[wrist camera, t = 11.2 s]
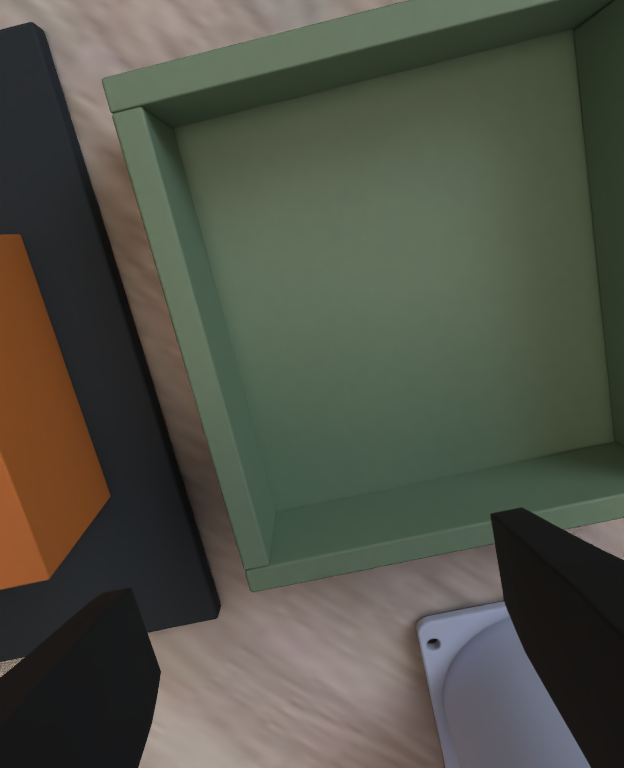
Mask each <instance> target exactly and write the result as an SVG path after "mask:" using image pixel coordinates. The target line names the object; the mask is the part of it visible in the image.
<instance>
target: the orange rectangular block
mask: <svg viewBox="0 0 624 768" xmlns="http://www.w3.org/2000/svg"><path fill="white" fill-rule="evenodd" d="M109 498H110V493H109V490H108V487H107V484H106V481H105V478H104V475H103V472H102V469H101V466H100V464H99V461H98V458H97V455H96V452H95V449H94V446H93V443H92V440H91V437H90V434H89V432H88V429H87V426H86V423H85V420H84V417H83V414H82V411H81V408H80V405H79V403H78V400H77V397H76V394H75V391H74V388H73V385H72V382H71V379H70V376H69V374H68V371H67V368H66V365H65V362H64V359H63V356H62V353H61V350H60V347H59V345H58V342H57V339H56V336H55V333H54V330H53V327H52V324H51V321H50V318H49V316H48V313H47V310H46V307H45V304H44V301H43V298H42V295H41V292H40V289H39V287H38V284H37V281H36V278H35V275H34V272H33V269H32V266H31V263H30V260H29V258H28V255H27V252H26V249H25V246H24V243H23V240H22V237H21V235H20V234H5V235H0V590H2V589H6V588H11V587H16V586H21V585H26V584H31V583H35V582H40V581H45V580H48V579H50V578H51V576H52V575H53V574H54V572H55V571H56V570H57V568H58V567H59V566H60V564H61V563H62V562H63V560H64V559H65V557H66V556H67V555H68V553H69V552H70V551H71V549H72V548H73V547H74V545H75V544H76V543H77V541H78V540H79V539H80V537H81V536H82V534H83V533H84V532H85V530H86V529H87V528H88V526H89V525H90V524H91V522H92V521H93V520H94V518H95V517H96V516H97V514H98V513H99V512H100V510H101V509H102V507H103V506H104V505H105V503H106V502H107V501H108V499H109Z"/></svg>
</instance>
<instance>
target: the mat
mask: <svg viewBox="0 0 624 768" xmlns="http://www.w3.org/2000/svg"><path fill="white" fill-rule="evenodd" d="M5 234H20V235H21V237H22V240H23V243H24V246H25V249H26V252H27V255H28V258H29V260H30V263H31V266H32V269H33V272H34V275H35V278H36V281H37V284H38V287H39V289H40V292H41V295H42V298H43V301H44V304H45V307H46V310H47V313H48V316H49V318H50V321H51V324H52V327H53V330H54V333H55V336H56V339H57V342H58V345H59V347H60V350H61V353H62V356H63V359H64V362H65V365H66V368H67V371H68V374H69V376H70V379H71V382H72V385H73V388H74V391H75V394H76V397H77V400H78V403H79V405H80V408H81V411H82V414H83V417H84V420H85V423H86V426H87V429H88V432H89V434H90V437H91V440H92V443H93V446H94V449H95V452H96V455H97V458H98V461H99V464H100V466H101V469H102V472H103V475H104V478H105V481H106V484H107V487H108V490H109V493H110V498H109V499H108V501H107V502H106V503H105V505H104V506H103V507H102V509H101V510H100V512H99V513H98V514H97V516H96V517H95V518H94V520H93V521H92V522H91V524H90V525H89V526H88V528H87V529H86V530H85V532H84V533H83V534H82V536H81V537H80V539H79V540H78V541H77V543H76V544H75V545H74V547H73V548H72V549H71V551H70V552H69V553H68V555H67V556H66V557H65V559H64V560H63V562H62V563H61V564H60V566H59V567H58V568H57V570H56V571H55V572H54V574H53V575H52V576H51V578H50V579H48V580H45V581H40V582H35V583H31V584H26V585H21V586H16V587H11V588H6V589H2V590H0V662H2V661H7V660H12V659H17V658H22V657H26V656H27V655H28V654H29V653H31V652H32V651H33V650H34V649H35V648H36V647H37V646H39V645H40V644H41V643H42V642H43V641H44V640H46V639H47V638H48V637H49V636H50V635H51V634H52V633H54V632H55V631H56V630H57V629H58V628H59V627H61V626H62V625H63V624H64V623H65V622H66V621H67V620H69V619H70V618H71V617H72V616H73V615H74V614H76V613H77V612H78V611H79V610H80V609H82V608H83V607H84V606H85V605H87V604H88V603H89V602H90V601H92V600H93V599H94V598H96V597H97V596H99V595H100V594H102V593H105V592H110V591H115V590H120V589H124V588H129V587H131V588H132V590H133V593H134V596H135V599H136V602H137V605H138V608H139V610H140V613H141V616H142V619H143V622H144V625H145V628H146V630H147V632H152V631H157V630H162V629H167V628H172V627H177V626H182V625H187V624H192V623H197V622H202V621H207V620H212V619H216V618H218V615H219V611H220V607H221V605H220V601H219V598H218V595H217V592H216V588H215V585H214V582H213V579H212V575H211V572H210V569H209V566H208V562H207V559H206V556H205V553H204V549H203V546H202V543H201V540H200V536H199V533H198V530H197V527H196V523H195V520H194V517H193V514H192V510H191V507H190V504H189V501H188V497H187V494H186V491H185V488H184V484H183V481H182V478H181V475H180V471H179V468H178V465H177V462H176V458H175V455H174V452H173V449H172V445H171V442H170V439H169V436H168V433H167V429H166V426H165V423H164V420H163V416H162V413H161V410H160V407H159V403H158V400H157V397H156V394H155V390H154V387H153V384H152V381H151V377H150V374H149V371H148V368H147V364H146V361H145V358H144V355H143V351H142V348H141V345H140V342H139V338H138V335H137V332H136V329H135V325H134V322H133V319H132V316H131V312H130V309H129V306H128V303H127V299H126V296H125V293H124V290H123V286H122V283H121V280H120V277H119V273H118V270H117V267H116V264H115V260H114V257H113V254H112V251H111V248H110V244H109V241H108V238H107V235H106V231H105V228H104V225H103V222H102V218H101V215H100V212H99V209H98V205H97V202H96V199H95V196H94V192H93V189H92V186H91V183H90V179H89V176H88V173H87V170H86V166H85V163H84V160H83V157H82V153H81V150H80V147H79V144H78V140H77V137H76V134H75V131H74V127H73V124H72V121H71V118H70V114H69V111H68V108H67V105H66V101H65V98H64V95H63V92H62V88H61V85H60V82H59V79H58V75H57V72H56V69H55V66H54V62H53V59H52V56H51V53H50V50H49V46H48V43H47V40H46V37H45V33H44V31H43V30H42V29H41V28H40V27H38V26H37V25H36V24H34V23H33V22H29V23H25V24H21V25H17V26H13V27H9V28H6V29H2V30H0V235H5Z"/></svg>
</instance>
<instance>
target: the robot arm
mask: <svg viewBox="0 0 624 768" xmlns="http://www.w3.org/2000/svg"><path fill="white" fill-rule="evenodd" d="M490 517H491V523H492V529H493V535H494V541H495V547H496V553H497V559H498V565H499V571H500V577H501V583H502V590H503V596H504V601H502V602H497V603H492V604H487V605H482V606H477V607H472V608H466V609H461V610H456V611H451V612H446V613H441V614H436V615H431V616H426V617H424V618H422V619H421V620H419V621H418V623H417V625H416V631H417V635H418V640H419V645H420V650H421V654H422V659H423V664H424V668H425V673H426V678H427V683H428V687H429V692H430V697H431V701H432V706H433V711H434V716H435V720H436V725H437V730H438V734H439V739H440V744H441V749H442V753H443V758H444V763H445V767H446V768H624V560H622V559H620V558H618V557H616V556H614V555H612V554H609V553H607V552H605V551H603V550H601V549H599V548H597V547H595V546H593V545H591V544H589V543H587V542H585V541H584V540H582V539H580V538H578V537H576V536H574V535H572V534H570V533H568V532H567V531H565V530H563V529H561V528H559V527H558V526H556V525H554V524H552V523H550V522H548V521H547V520H545V519H543V518H541V517H539V516H538V515H536V514H534V513H532V512H530V511H528V510H526V509H524V508H522V507H520V508H515V509H510V510H505V511H501V512H496V513H491V514H490ZM430 639H437V641H436V642H434V643H428V641H429V640H430ZM160 675H161V670H160V668H159V665H158V662H157V659H156V656H155V653H154V650H153V648H152V645H151V642H150V639H149V636H148V633H147V630H146V628H145V625H144V622H143V619H142V616H141V613H140V610H139V608H138V605H137V602H136V599H135V596H134V593H133V590H132V588H131V587H129V588H124V589H120V590H115V591H110V592H105V593H102V594H100V595H99V596H97V597H96V598H94V599H93V600H92V601H90V602H89V603H88V604H87V605H85V606H84V607H83V608H82V609H80V610H79V611H78V612H77V613H76V614H74V615H73V616H72V617H71V618H70V619H69V620H67V621H66V622H65V623H64V624H63V625H62V626H61V627H59V628H58V629H57V630H56V631H55V632H54V633H52V634H51V635H50V636H49V637H48V638H47V639H46V640H44V641H43V642H42V643H41V644H40V645H39V646H37V647H36V648H35V649H34V650H33V651H32V652H31V653H29V654H28V655H27V656H26V657H25V658H24V659H22V660H21V661H20V662H19V663H18V664H17V665H15V666H14V667H13V668H12V669H10V670H9V671H8V672H7V673H6V674H4V675H3V676H2V677H1V678H0V768H138V767H139V764H140V760H141V757H142V754H143V751H144V747H145V744H146V741H147V738H148V734H149V731H150V728H151V724H152V720H153V715H154V710H155V705H156V699H157V693H158V687H159V681H160Z"/></svg>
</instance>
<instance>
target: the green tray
mask: <svg viewBox="0 0 624 768" xmlns="http://www.w3.org/2000/svg"><path fill="white" fill-rule="evenodd" d="M102 84H103V88H104V91H105V94H106V98H107V101H108V105H109V108H110V111H111V113H113V115H112V118H113V121H114V125H115V128H116V131H117V135H118V138H119V142H120V145H121V149H122V152H123V155H124V159H125V162H126V166H127V169H128V173H129V176H130V180H131V183H132V186H133V190H134V193H135V197H136V200H137V204H138V207H139V210H140V214H141V217H142V221H143V224H144V228H145V231H146V234H147V238H148V241H149V245H150V248H151V252H152V255H153V259H154V262H155V265H156V269H157V272H158V276H159V279H160V283H161V286H162V289H163V293H164V296H165V300H166V303H167V307H168V310H169V313H170V317H171V320H172V324H173V327H174V331H175V334H176V338H177V341H178V344H179V348H180V351H181V355H182V358H183V362H184V365H185V368H186V372H187V375H188V379H189V382H190V386H191V389H192V393H193V396H194V399H195V403H196V406H197V410H198V413H199V417H200V420H201V423H202V427H203V430H204V434H205V437H206V441H207V444H208V447H209V451H210V454H211V458H212V461H213V465H214V468H215V472H216V475H217V478H218V482H219V485H220V489H221V492H222V496H223V499H224V502H225V506H226V509H227V513H228V516H229V520H230V523H231V526H232V530H233V533H234V537H235V540H236V544H237V547H238V551H239V554H240V557H241V561H242V564H243V568H244V569H245V574H246V578H247V581H248V585H249V588H250V591H251V592H258V591H263V590H268V589H272V588H277V587H282V586H287V585H292V584H297V583H302V582H307V581H312V580H317V579H322V578H327V577H332V576H337V575H342V574H347V573H352V572H357V571H362V570H367V569H372V568H377V567H381V566H386V565H391V564H396V563H401V562H406V561H411V560H416V559H421V558H426V557H431V556H436V555H441V554H446V553H451V552H456V551H461V550H466V549H471V548H476V547H481V546H486V545H490V544H495V541H494V535H493V529H492V523H491V517H490V514H491V513H496V512H501V511H505V510H510V509H515V508H520V507H522V508H524V509H526V510H528V511H530V512H532V513H534V514H536V515H538V516H539V517H541V518H543V519H545V520H547V521H548V522H550V523H552V524H554V525H556V526H558V527H559V528H561V529H563V530H565V529H570V528H575V527H580V526H585V525H590V524H595V523H599V522H604V521H609V520H614V519H619V518H624V0H408V1H404V2H400V3H396V4H392V5H388V6H384V7H380V8H376V9H372V10H368V11H364V12H360V13H356V14H353V15H349V16H345V17H341V18H337V19H333V20H329V21H325V22H321V23H317V24H313V25H309V26H305V27H302V28H298V29H294V30H290V31H286V32H282V33H278V34H274V35H270V36H266V37H262V38H258V39H254V40H251V41H247V42H243V43H239V44H235V45H231V46H227V47H223V48H219V49H215V50H211V51H207V52H203V53H200V54H196V55H192V56H188V57H184V58H180V59H176V60H172V61H168V62H164V63H160V64H156V65H152V66H149V67H145V68H141V69H137V70H133V71H129V72H125V73H121V74H117V75H113V76H109V77H105V78H103V79H102Z"/></svg>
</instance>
